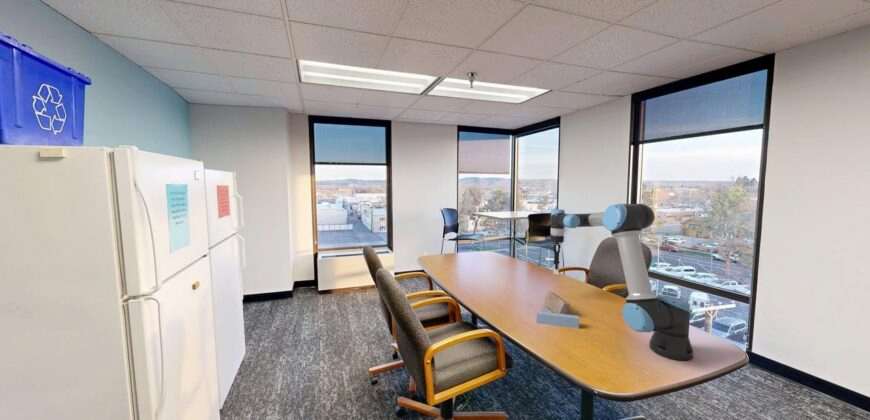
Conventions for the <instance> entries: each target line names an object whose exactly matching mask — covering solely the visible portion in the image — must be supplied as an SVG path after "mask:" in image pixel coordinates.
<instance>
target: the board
mask: <svg viewBox="0 0 870 420" xmlns="http://www.w3.org/2000/svg"><path fill="white" fill-rule="evenodd" d="M541 307H542V308H541V310H536V324H539V323H540V325H547V324H548V326H556V327H562V326H563V327H565V328H570V327H571V329H578V328H579V329H580V317H579V315H576V314H575V315H574V314H568V313H567V314H559V313H554V312H551V311H550V312H549V308H548V307H547V306H545V305H544V306H543V305H542V306H541Z"/></svg>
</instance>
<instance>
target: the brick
mask: <svg viewBox="0 0 870 420" xmlns="http://www.w3.org/2000/svg"><path fill="white" fill-rule="evenodd" d="M543 305H544V307H548V309H550V310H551V312H552V313H559V314H567V315H568V312H569V311H570V308H571V303H569V302H567V301H566V300H565V299H563V298H562V297H560V296H559V295H558V294H556V293H554V292H553V291H550V290H548V291H547V292H546V294H545V297H544V300H543Z"/></svg>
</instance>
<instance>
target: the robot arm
mask: <svg viewBox="0 0 870 420" xmlns="http://www.w3.org/2000/svg"><path fill="white" fill-rule="evenodd" d="M655 217H656V216H655V212H654V210H653V209H652V207H650V206H648V205H646V204H644V203H643V204H642V203H616V204H611V205H610V206H607V207H606V208H605V210H604V211H602V212H590V213H566V212H565V209H562V208H561V209H560V208H554V209H552V210H551V213H550V236H549V237H550V242H551V243H554V244H553V246H552V247H553V248H552V249H553V253H554V254H553V262H552V264H553V275H559V268H560V263H561V262H560V253H561V244H560V243H564V242H565V241H564V240H565V236H564V235H565V232H566V229H565V228H568V229H576V228H581V227H583V228H585V227H586V228H587V227H588V228H590V227H591V228H592V227H604V228H606V230H608V231H610V233H611V237H613V238H614V239H616V244H617V246H618V251H619V252H618V253H619V255H620V261H621V264H622V269H623V270H622V271H623V273H624V278H625V279H624V280H625V282H626V283H625V285H626V287H627V292H628V295H627V297H625V303H626V304H625V305H623V308H622V309H621V315H622V318H623V320H624V322H625V323H626V325H627V326H628V327H630V329H631V330H633V331H635V332H638V333H652V332H653V333H652V335H651V337H650V340H649V345H648V346H649V348H650V350H651V351H653V352H654V353H655V354H658V355H660V356H662V357H665V358H668V359H673V360H679V361H688V360H692V359H693V358H694V349H693V346H692V342H691V340H690V336H689V335H690V321H691V305H690V303H689V301H686V300H684V299H682V298H678V297H674V296H671V295H664V294H658V295H656V294H654V292H653V289H652V285H651V282H650V277H649V273H648V269H647V266H646V261H645V256H644V253H643V248H642V247H643V246H642V245H641V240H640V235H641V234H642V233H643V231H642V230H644V229H647V228H649V227H651V225H653V223H654V222H655Z"/></svg>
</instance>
